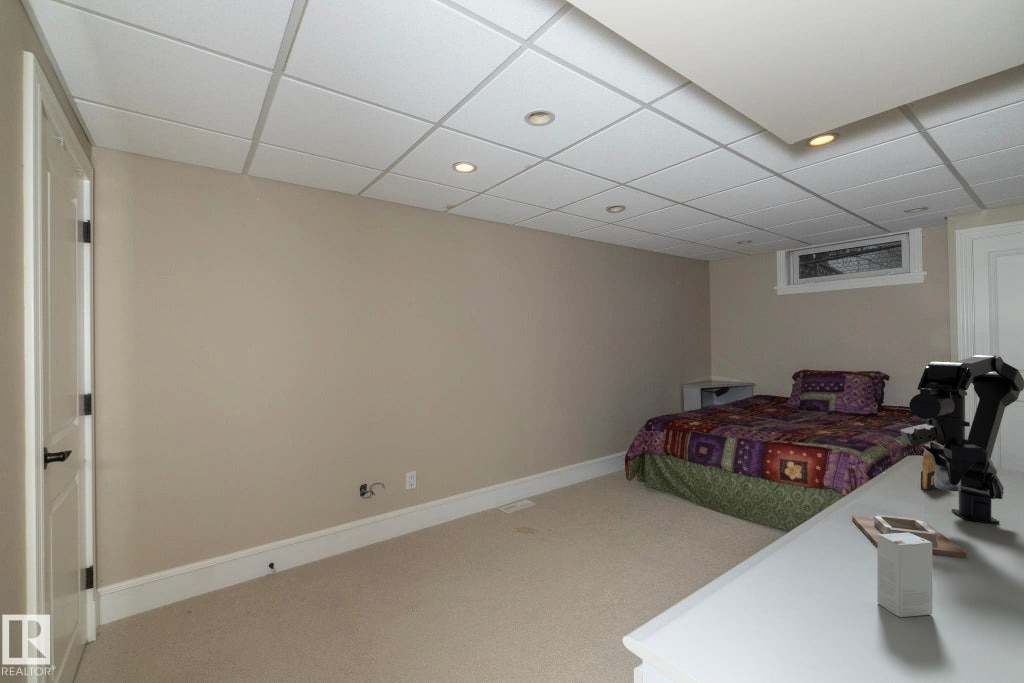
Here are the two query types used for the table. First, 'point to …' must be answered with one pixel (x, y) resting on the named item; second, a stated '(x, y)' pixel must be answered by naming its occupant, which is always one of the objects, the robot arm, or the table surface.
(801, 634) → the table surface
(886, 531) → the wooden board with frame
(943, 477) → the cylinder
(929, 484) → the ammunition clip
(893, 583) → the skincare box
